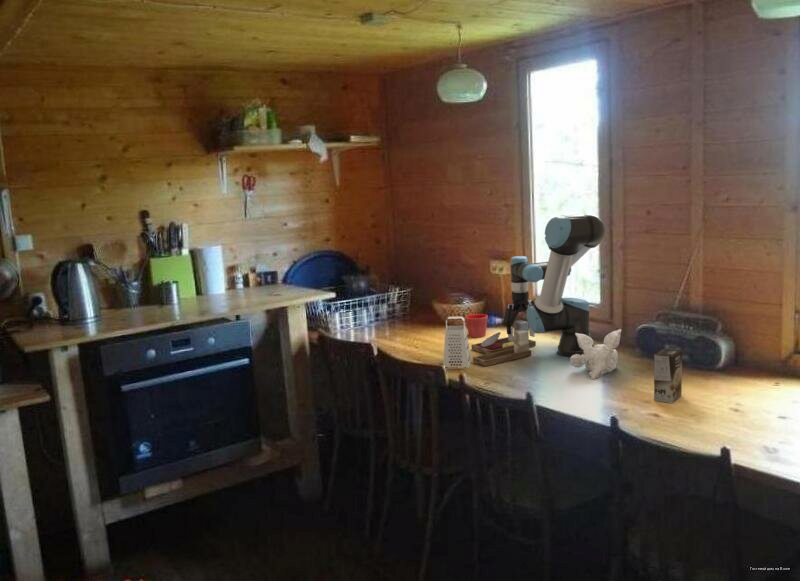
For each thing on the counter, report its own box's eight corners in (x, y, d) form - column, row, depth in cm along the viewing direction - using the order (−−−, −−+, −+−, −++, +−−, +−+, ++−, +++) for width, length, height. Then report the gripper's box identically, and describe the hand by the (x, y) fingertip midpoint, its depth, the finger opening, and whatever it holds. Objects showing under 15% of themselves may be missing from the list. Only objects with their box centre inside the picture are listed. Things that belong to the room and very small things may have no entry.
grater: (468, 368, 294) (466, 320, 290) (442, 368, 296) (440, 320, 293) (471, 361, 304) (469, 314, 300) (446, 361, 306) (444, 315, 303)
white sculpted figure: (625, 340, 286) (620, 324, 269) (626, 390, 279) (621, 376, 262) (576, 341, 293) (568, 325, 276) (576, 389, 286) (568, 376, 269)
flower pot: (461, 335, 349) (460, 315, 347) (481, 332, 353) (480, 312, 352) (472, 339, 339) (472, 319, 338) (492, 336, 344) (492, 316, 342)
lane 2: (531, 355, 306) (530, 332, 304) (484, 366, 294) (483, 342, 292) (519, 351, 313) (518, 328, 311) (473, 362, 301) (472, 338, 299)
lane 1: (535, 345, 321) (535, 323, 319) (491, 355, 309) (490, 332, 307) (515, 339, 333) (514, 318, 331) (471, 349, 321) (470, 327, 320)
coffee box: (672, 403, 239) (673, 356, 236) (653, 400, 243) (653, 354, 240) (682, 396, 246) (682, 350, 243) (663, 393, 250) (663, 348, 247)
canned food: (498, 363, 314) (493, 347, 309) (478, 358, 320) (473, 342, 314) (510, 346, 321) (506, 330, 315) (490, 342, 327) (486, 325, 321)
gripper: (535, 286, 331) (536, 332, 335) (493, 293, 319) (495, 341, 323) (546, 288, 324) (547, 335, 328) (503, 296, 313) (505, 344, 317)
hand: (521, 338), depth 326 cm, fingers open, 11 cm apart
